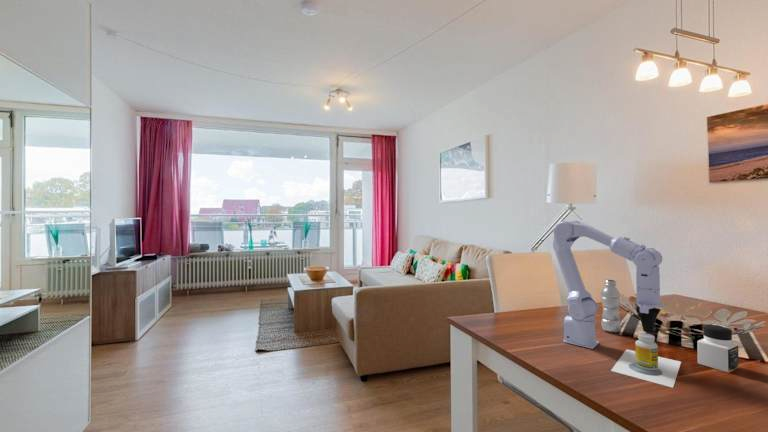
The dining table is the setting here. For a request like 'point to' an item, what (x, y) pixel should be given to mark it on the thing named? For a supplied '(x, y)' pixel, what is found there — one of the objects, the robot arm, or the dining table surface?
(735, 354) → the medicine bottle
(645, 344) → the supplement bottle
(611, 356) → the dining table surface
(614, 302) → the plastic bottle
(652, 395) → the dining table surface
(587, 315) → the robot arm
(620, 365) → the card
